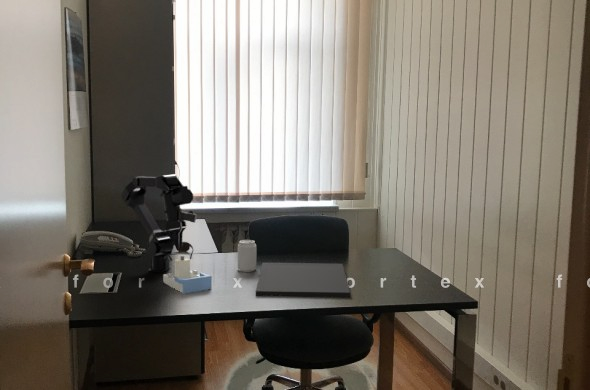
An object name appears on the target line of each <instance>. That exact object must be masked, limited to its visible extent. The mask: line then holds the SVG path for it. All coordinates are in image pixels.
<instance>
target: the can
mask: <svg viewBox="0 0 590 390" xmlns="http://www.w3.org/2000/svg"><path fill="white" fill-rule="evenodd" d="M256 269H257V244H256V243H255V240H252V239H242V240H240V241H239V242H238V244H237V270H239V272H242V273H252V272H254V271H255V270H256Z"/></svg>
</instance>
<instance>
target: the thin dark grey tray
mask: <svg viewBox="0 0 590 390" xmlns="http://www.w3.org/2000/svg"><path fill="white" fill-rule="evenodd" d="M345 271H346V270H345V268H344V265H343V263H319V262H318V263H316V262H315V263H311V262H310V263H309V262H308V263H305V262H262V264H261V268H260V272H259V276H258V280H257V284H256V289H255V297H280V298H281V297H287V298H288V297H291V298H292V297H293V298H294V297H295V298H298V297H299V298H343V299H344V298H346V299H347V298H351V291H350V286H349V283H348V279H347V277H346V272H345Z"/></svg>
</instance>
